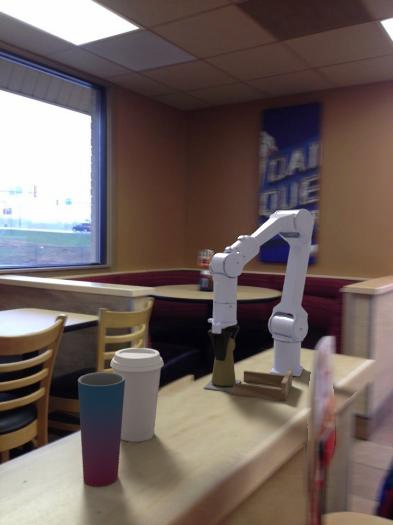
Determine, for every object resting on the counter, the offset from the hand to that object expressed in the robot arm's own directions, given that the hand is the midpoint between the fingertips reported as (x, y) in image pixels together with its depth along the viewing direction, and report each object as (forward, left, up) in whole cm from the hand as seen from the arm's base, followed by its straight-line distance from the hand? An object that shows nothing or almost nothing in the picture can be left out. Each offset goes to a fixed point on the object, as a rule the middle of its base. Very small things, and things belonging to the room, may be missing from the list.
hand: (223, 357), depth 115 cm
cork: (0, 0, -6) cm, 6 cm away
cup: (+50, -5, -7) cm, 51 cm away
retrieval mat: (0, 0, -7) cm, 7 cm away
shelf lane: (0, +10, -7) cm, 12 cm away
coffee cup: (+34, -7, -7) cm, 35 cm away
